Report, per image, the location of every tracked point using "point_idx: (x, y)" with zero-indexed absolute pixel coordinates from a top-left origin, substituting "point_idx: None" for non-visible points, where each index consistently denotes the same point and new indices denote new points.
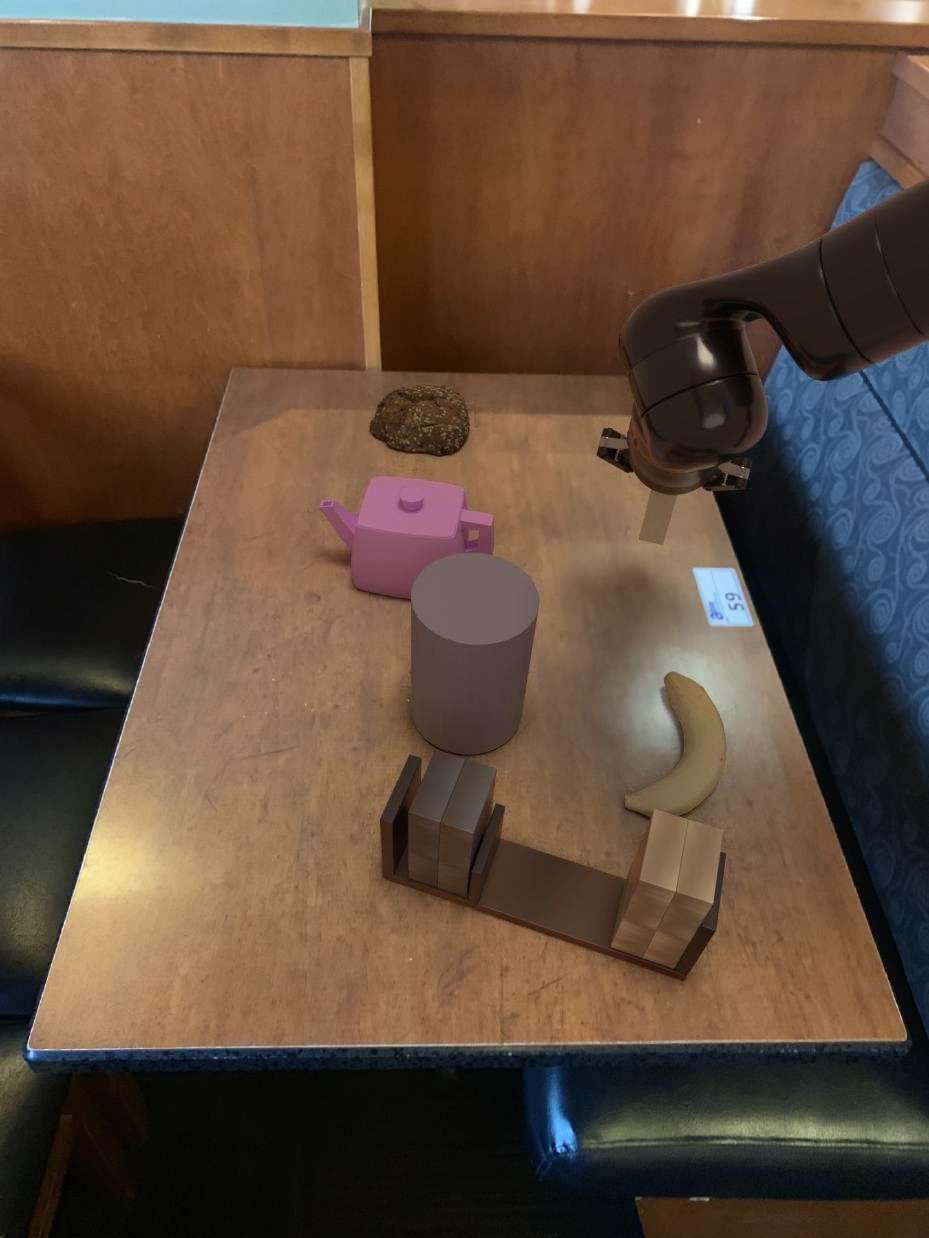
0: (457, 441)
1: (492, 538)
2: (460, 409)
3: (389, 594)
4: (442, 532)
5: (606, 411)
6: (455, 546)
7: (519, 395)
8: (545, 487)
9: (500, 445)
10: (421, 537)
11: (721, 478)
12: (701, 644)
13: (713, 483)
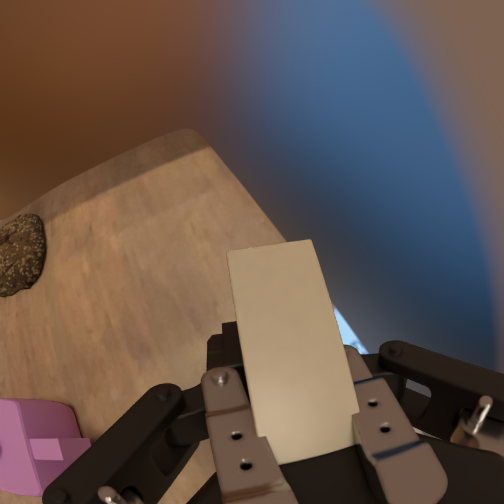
0: (34, 268)
1: (78, 450)
2: (28, 234)
3: None
4: (30, 487)
5: (153, 165)
6: None
7: (82, 184)
8: (116, 284)
9: (71, 247)
10: (21, 494)
11: (445, 425)
12: None
13: (415, 421)
